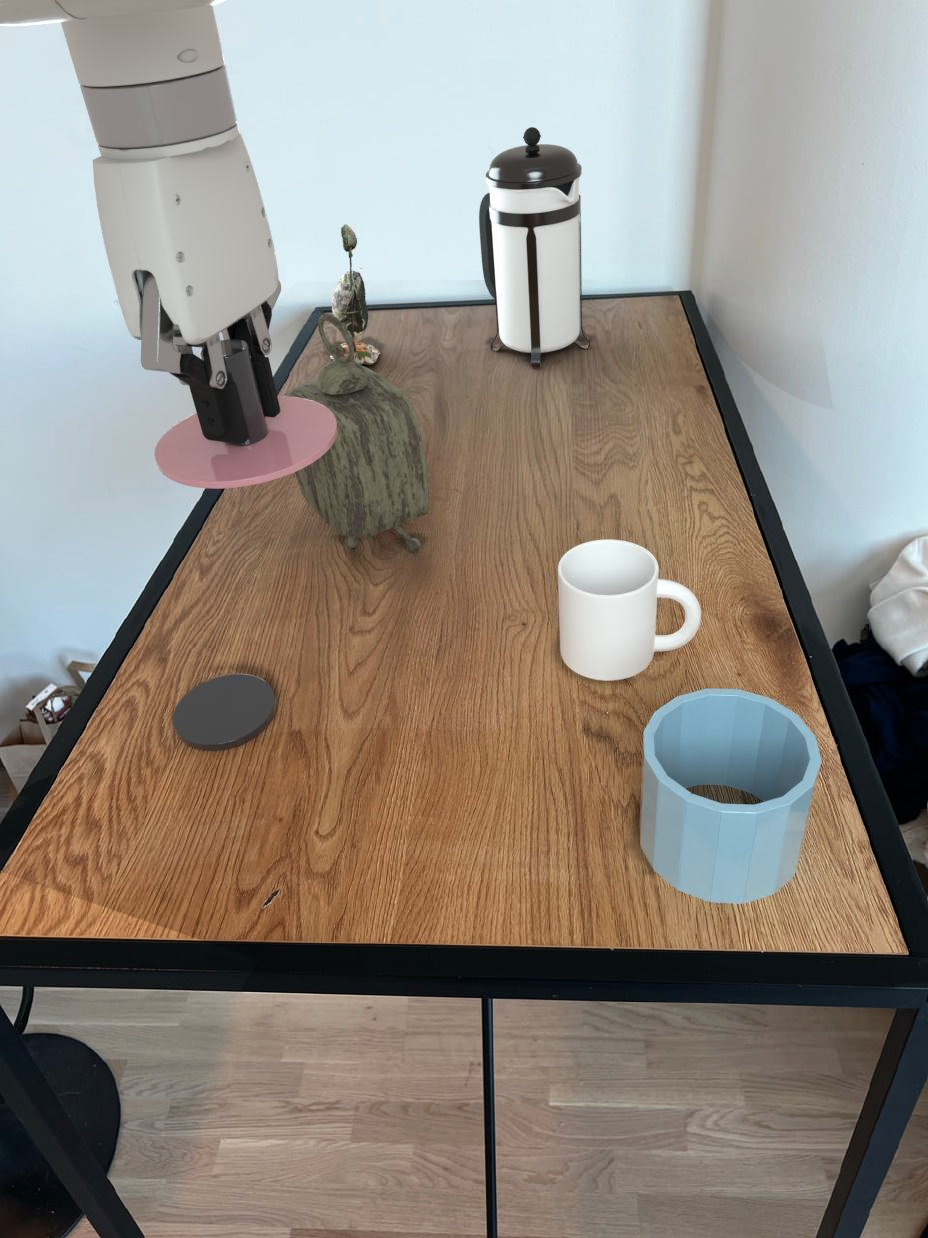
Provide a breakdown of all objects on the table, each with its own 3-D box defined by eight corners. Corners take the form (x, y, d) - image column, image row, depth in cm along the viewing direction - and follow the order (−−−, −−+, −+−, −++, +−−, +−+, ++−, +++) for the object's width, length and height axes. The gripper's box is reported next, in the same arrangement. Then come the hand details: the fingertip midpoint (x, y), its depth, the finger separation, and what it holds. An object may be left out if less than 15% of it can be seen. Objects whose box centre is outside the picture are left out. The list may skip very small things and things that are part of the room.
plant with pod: (388, 340, 148) (369, 207, 136) (375, 370, 139) (354, 231, 127) (338, 343, 149) (314, 211, 137) (322, 372, 140) (296, 234, 128)
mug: (696, 635, 86) (705, 541, 79) (697, 697, 79) (706, 601, 73) (565, 629, 88) (563, 537, 82) (555, 688, 82) (552, 594, 75)
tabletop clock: (437, 553, 100) (408, 324, 84) (362, 585, 96) (317, 353, 81) (373, 499, 110) (337, 286, 94) (304, 527, 106) (254, 310, 91)
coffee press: (597, 326, 145) (596, 110, 127) (583, 369, 133) (581, 137, 115) (487, 326, 149) (472, 117, 131) (465, 368, 137) (444, 144, 119)
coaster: (241, 761, 78) (239, 754, 78) (154, 738, 81) (151, 731, 81) (295, 690, 85) (293, 683, 84) (212, 672, 88) (210, 665, 87)
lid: (313, 496, 57) (289, 387, 52) (129, 497, 59) (91, 392, 54) (357, 408, 66) (340, 308, 62) (197, 411, 68) (169, 315, 64)
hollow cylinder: (810, 919, 62) (835, 815, 56) (641, 910, 64) (646, 809, 57) (785, 792, 71) (804, 689, 64) (637, 787, 72) (641, 687, 66)
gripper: (195, 85, 57) (262, 370, 68) (-2, 151, 46) (117, 481, 57) (301, 82, 54) (352, 379, 66) (120, 151, 43) (219, 497, 54)
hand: (242, 424), depth 61 cm, fingers closed on lid, 3 cm apart
